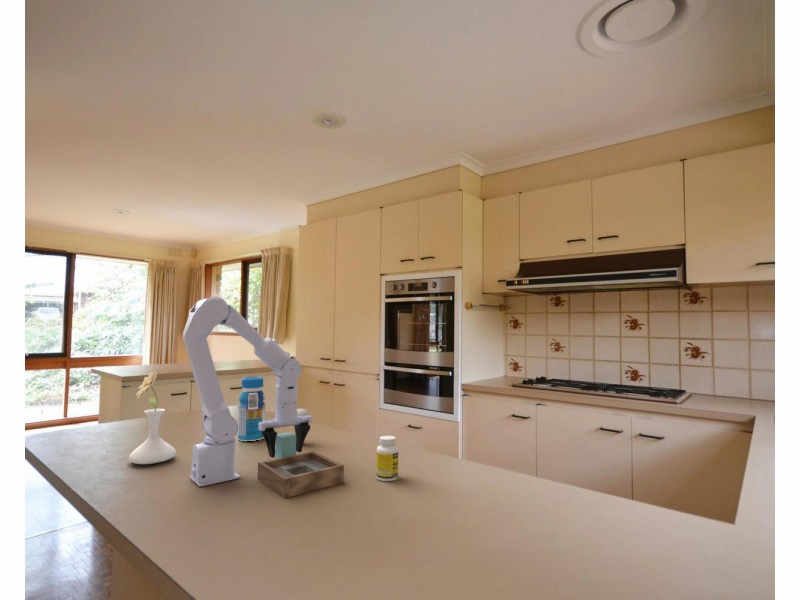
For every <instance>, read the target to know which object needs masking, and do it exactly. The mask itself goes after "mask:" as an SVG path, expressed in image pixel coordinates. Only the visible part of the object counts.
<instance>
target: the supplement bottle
mask: <svg viewBox="0 0 800 600" xmlns="http://www.w3.org/2000/svg"><path fill="white" fill-rule="evenodd" d="M396 438H397V437H396V436H393V435H382V436H380V437H379V444H380V445H378V446H377V448H376V456H375V457H376V461H375V463H376V464H375V465H376V466H375V468H376V469H375V473H376V474H375V477H376V479H377V480H378V481H381V482H393V481H396V480H397V479H398V478H399V447H398V446H397V445H396V444H397V439H396Z"/></svg>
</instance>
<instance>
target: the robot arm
mask: <svg viewBox="0 0 800 600" xmlns="http://www.w3.org/2000/svg"><path fill="white" fill-rule="evenodd" d="M218 325H219V326H220V325H221V326H224V327H229V328H231V329H233V331H235V332H236V333H237V334H238V335H239V336H240V337H241V338H242V339H244V340H246V342H247V343H249V344H250V345H251V346H253V349H254V350H253V352H254V355H255V356H256V357H257V358H258V359H259V360H260V361H262V362H263V363H264V364H265V365H266V366H268V367H269V369H270V370H272V373H273V375H274V376H276V377H275V378H276V381H275V412H274V413H275V416H274V417H275V418H272V419H269V420H264V421H263V422H259V430H261V433H262V435H263V437H264V438H263V439H264V441H265V443H266V446H267V447H266V448H267V450H268V457H270V458H272V459H274V458H275V446H276V436H277V434H278V432H277V431H276V429H279V428H286V427H287V428H288V427H292V426H293V425H294V426H293V428H294V427H295V429H294V433H295V434H296V453H297V452H298V453H302V452H303V447H304V443H305V440H306V437H307V436H308V433H309V431H310V430H311V424H313V415H310V416H309V415H307V416H297V409H298V395H299V394H298V391H299V386H298V384H299V383H298V381H299V378H300V376H301V375H302V373H303V372H302V371H303V368H301V367H302V366H301V364H300V362H299V360H297V359H295V358H291V353H290V352H289V351H285V350H284V349H283V348H282V347H281V346H280V345H279V341H278V340H277V339H275V338H274V339H272V337H271V338H270V337H263V336H262V334H260V333H259V332H258V331H257V330H256V329H255V328H254V327H253V326H252V324H250V323H249V321H248V320H247V319H245V318H244V317H243V316H242V315H241V314H240V313H239V312H238V310H237V309H236V308H235V307H234V306H232V305H231V304H228V303H227V301H226V300H225V299H224V298H221V297H220V296H219V297H218V296H211V297H207V298H202V299H200V300H198V301H197V302H195V304H194V305H193V306H192V307H191V308H190V309H189V313H188V317H187V321H186V323H185V326H184V328H183V332H182V340H183V343H184V347H185V351H186V353H187V357H188V361H189V364H190V367H191V371H192V374H193V378H194V380H195V384H196V387H197V391H198V394H199V397H200V400H201V404H202V406H201V412H202V416H203V420H202V425H201V426H202V430H203V431H204V433H205V436H204V438H203V441H202V442H201V443H197V444H194V445H193V446H192V451H191V466H190V467H191V470H190V477H189V478H190V479H191V480H192V482H194V483H195V484H196V485H197V486H198V487H204V486H209V485H214V484H218V483H224V482H228V481H232V480H238V479H241V475H239V474H238V473H237V472H236V471H235V459H236V458H235V457H236V455H235V454H236V436H237V435H238V426H239V422H238V420H236V418H234V416H233V415H232V414H231V411H230V408H229V407H228V405H227V403H226V401H225V398H224V395H223V391H222V388H221V386H220V385H221V384H220V380H219V378H218V375H217V371H216V368H215V365H214V361H213V356H212V353H211V350H210V347H209V343H208V340H207V339H208V337H209V336H210V334H211V333H212V331H213V330H214V328H216V327H217V326H218Z"/></svg>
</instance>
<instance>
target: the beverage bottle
mask: <svg viewBox="0 0 800 600" xmlns="http://www.w3.org/2000/svg"><path fill="white" fill-rule="evenodd" d="M263 387H264V377H263V376H262V377H261V376H249V377H248V376H247V377H243V378H242V379H241V389H243V390H242V392H241V393H240V395H239V397H238V401H239V404H238V431H237V439H239V440H243V441H250V440H257V439H261V438H263V435H262V433H261V430H259V422H263V421H265V420H266V419H265V412H266V403H265V400H266V396H265V393H264V392H263V390H262V388H263ZM263 439H264V438H263ZM239 440H238V441H239Z"/></svg>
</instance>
